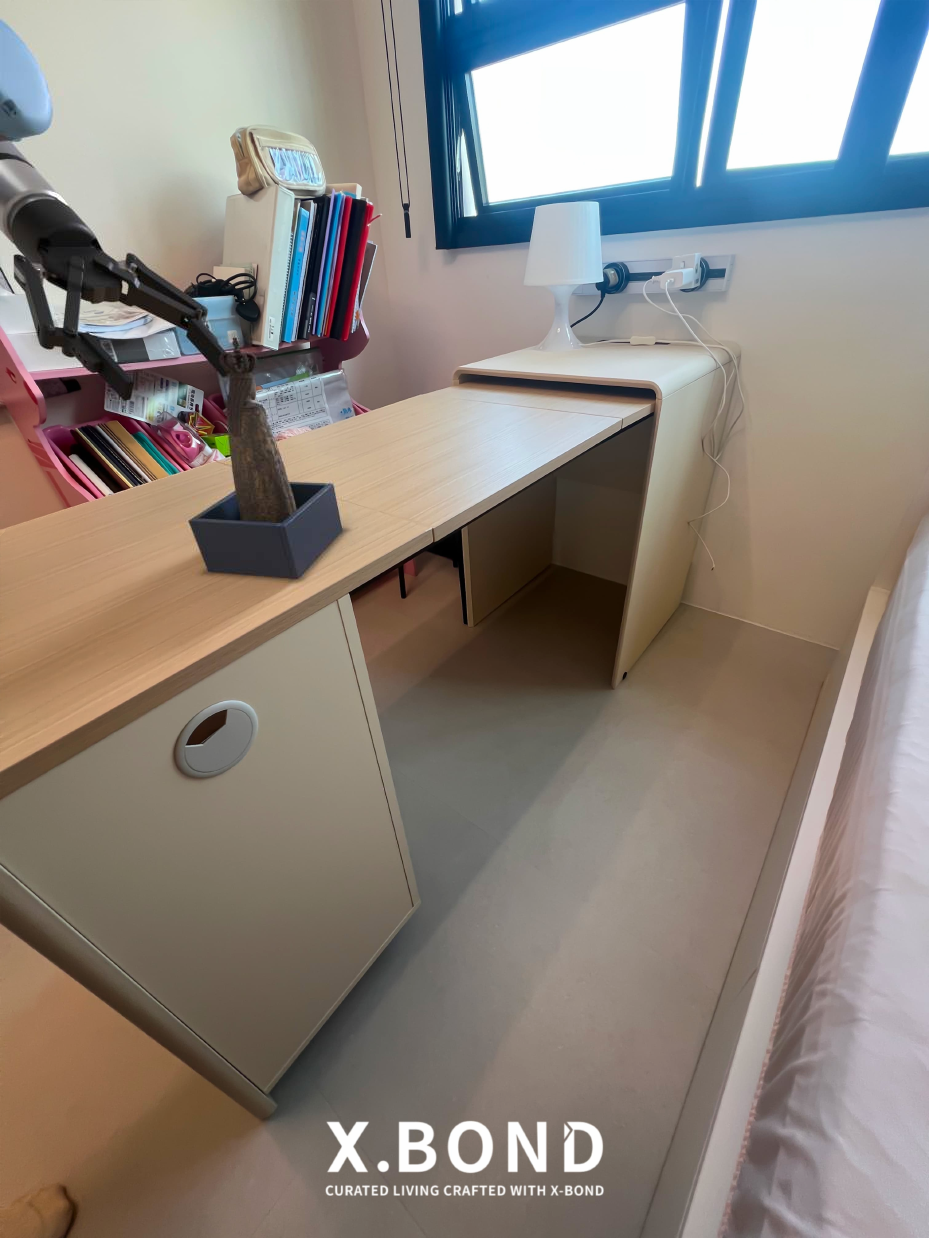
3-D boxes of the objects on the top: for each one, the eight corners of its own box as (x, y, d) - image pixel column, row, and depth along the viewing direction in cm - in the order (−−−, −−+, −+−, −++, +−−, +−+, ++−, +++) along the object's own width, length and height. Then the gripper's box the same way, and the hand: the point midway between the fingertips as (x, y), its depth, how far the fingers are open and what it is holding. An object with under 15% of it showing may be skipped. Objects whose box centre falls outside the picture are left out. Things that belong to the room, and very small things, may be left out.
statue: (316, 537, 71) (269, 334, 56) (299, 564, 65) (241, 343, 50) (257, 538, 71) (195, 337, 57) (234, 564, 65) (158, 346, 51)
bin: (207, 571, 64) (187, 520, 60) (263, 526, 75) (250, 480, 71) (298, 579, 61) (284, 526, 57) (342, 530, 72) (333, 483, 68)
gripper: (139, 255, 68) (252, 381, 71) (-89, 260, 50) (74, 428, 53) (149, 201, 63) (270, 339, 66) (-102, 184, 45) (79, 375, 48)
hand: (183, 379), depth 59 cm, fingers open, 13 cm apart
